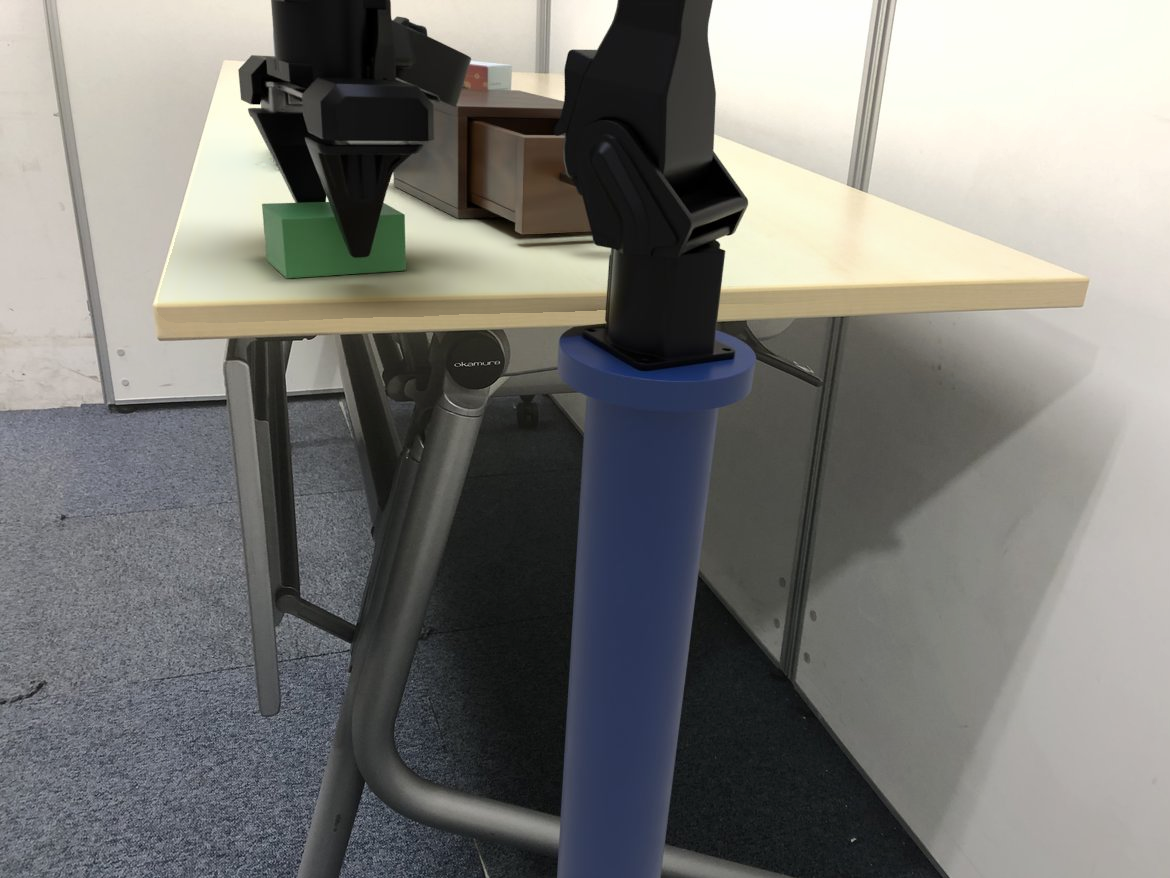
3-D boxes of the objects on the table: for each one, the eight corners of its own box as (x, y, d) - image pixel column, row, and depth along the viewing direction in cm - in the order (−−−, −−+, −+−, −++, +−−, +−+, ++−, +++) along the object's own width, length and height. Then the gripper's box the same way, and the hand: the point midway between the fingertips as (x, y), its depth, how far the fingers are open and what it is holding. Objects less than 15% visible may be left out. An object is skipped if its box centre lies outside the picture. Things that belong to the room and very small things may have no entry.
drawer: (681, 240, 75) (690, 146, 72) (549, 247, 69) (553, 146, 66) (567, 196, 88) (571, 115, 85) (448, 199, 82) (448, 113, 79)
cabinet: (591, 213, 86) (598, 109, 82) (457, 218, 79) (458, 106, 76) (516, 183, 97) (519, 90, 93) (393, 186, 90) (390, 85, 86)
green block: (406, 270, 63) (405, 214, 62) (286, 278, 59) (281, 218, 58) (381, 254, 67) (379, 200, 65) (266, 260, 63) (261, 203, 61)
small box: (414, 168, 100) (412, 56, 95) (441, 162, 104) (441, 55, 100) (486, 178, 98) (487, 64, 93) (510, 172, 102) (512, 63, 98)
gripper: (523, -19, 53) (515, 267, 60) (398, -26, 67) (403, 207, 74) (316, -39, 47) (333, 280, 54) (226, -43, 61) (249, 212, 68)
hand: (336, 240), depth 62 cm, fingers open, 9 cm apart
